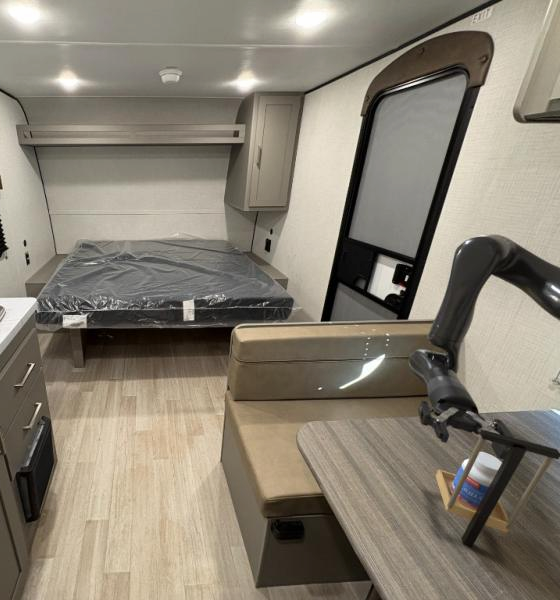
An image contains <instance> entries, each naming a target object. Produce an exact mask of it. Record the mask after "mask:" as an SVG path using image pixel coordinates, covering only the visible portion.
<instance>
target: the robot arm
mask: <svg viewBox="0 0 560 600" xmlns="http://www.w3.org/2000/svg"><path fill="white" fill-rule="evenodd" d="M492 276H493V277H495V278H498V279H500V280H502V281H504V282H506V283H508V284H510V285H512V286H513V287H515V288H518V289H519V290H521V291H522V292H523V293H525V294H526V295H527V296H528V297H529V298H530V299H531V300H532V301H533V302H535V304H536V305H538V306H539V307H540V308H541V309H542V310H543V311H545V313H547V314H548V315H550V316H551V317H552V318H554V319H556V320H557V321H559V322H560V266H558V265H554V264H553V263H551V262H549V261H547V260H545V259H543V258H541V257H540V256H538V255H537V254H535V253H533V252H531V251H530V250H528V249H527V248H524V247H523V246H521V245H520V244H518V243H517V242H515V241H513V240H512V239H511V238H508V237H506V236H504V235H500V234H491V233H490V234H489V233H488V234H482V235H476V236H472V237H469V238H467V239H465V240H464V241H462V242H461V243H459V245H458V246H457V247H456V249H455V251H454V254H453V259H452V263H451V269H450V274H449V278H448V282H447V286H446V290H445V293H444V296H443V299H442V301H441V304H440V307H439V309H438V311H437V313H436V316H435V318H434V320H433V322H432V325H431V327H430V329H429V332H428V334H427V336H426V337H427V341H428V342H429V343H430V345H432V346H434V347H437V348H439V349H441V350H443V351H444V352H439V351H438V352H437V351H434V350H429V349H425V348H418V349H415V350H413V351H412V352H411V353H410V354H409V355H408V356H409V357H408V366H409V368H410V370H411V372H412V373H413V374H414V375H415V376H416V377H417V378H418V379H419V380H420V381H421V382H422V383H423V384H424V385H425V388H426V392H427V393H426V394H427V397H428V399H429V401H430V404H431V405H429V403H428V401H426V400H421V401H420V403H419V405H418V409H417V411H418V415H419V420H420V424H421V425H422V426H426V427H428V426H429V427H431V429H433V431H434V433H435V436H436V438H438V439H439V440H440V442H442V443H445V444H446V443H448V441H449V438H450V434H449V431H448V428H447V427H451V428H452V429H456V430H461V431H464V432H466V433H470V434H472V435H473V436H475V437H476V438H478V439H479V438H480V436H481V435H480V433H481V431H482V430H486V431H490V432H494V433H497V434H501V435H505V436H509V437H512V438H515V436H514V435H513V433H512V432H511V431H510V430H509V428H508V427H507V426H506V424H505V423H504V422H503V420H502V419H499V418H494V419H493V420H489V419H486V418H485V417H484V416H482V415H481V414H480V412H479V409H478V405H477V404H476V402H475V401H474V399H473V397H472V396H471V394H470V392H469V391H468V389H467V387H466V386H465V385H464V384H463V383H462V381H461V380H460V378H459V376H458V374H459V371H460V370H459V369H460V354H461V348H462V344H463V342H464V340H465V338H466V336H467V334H468V332H469V330H470V328H471V326H472V324H473V323H472V322H473V320H474V315H475V309H476V305H477V301H478V299H479V296H480V294H481V291H482V289H483V288H484V286H485V285H486V283H487V282H488V280H489V279H490V277H492ZM432 413H433V415H434V416H436V417H435V418H434V417H432ZM480 429H481V430H480ZM479 430H480V431H479ZM485 442H487V443H488V444H490V446H491V448H492V450H493V452H494V454H495V456H496V458H497V459H499V460H500V459H501V460H504V458H505V456H506V455H507V453H508V451H509V449H510V446H507V445H503V444H499V443H496V442H492V441H488V440H485Z"/></svg>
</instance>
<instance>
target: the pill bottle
mask: <svg viewBox="0 0 560 600" xmlns="http://www.w3.org/2000/svg"><path fill="white" fill-rule="evenodd" d="M469 459H470V458H466V459H465V460H463V461H462V464H461V465H460V467H459V469H458V471H457V473H456V474H455V475H456V477H455V479H454V481H453V482H452V484H451V487H450V490H451V493H452V494H453V492H454V490H455V488H456V486H457V483H458V481H459V479H460V477H461V475H462V473H463V471H464V469H465V467H466V465H467V463H468V461H469ZM502 462H503V461H501V460H500V458H498V457H497V456H494V455H492V454H490V453H487V452H484V451H480V452H479V454H478V456H477V458H476V460H475V462H474V464H473V466H472V469H471V471H470V473H469V475H468V477H467V479H466V481H465V483H464V485H463V487H462V489H461V491H460V493H459V495H458V497H457V500H458V501H459V502H461V503H462V504H463V505H465V506H467V507H469V508H471V509H473V510H477V508H478V506H479V505H480V503H481V501H482V499H483V497H484V495H485V493H486V492H487V490H488V488H489V486H490V484H491V482H492V481H493V479H494V477H495V475H496V473H497V471H498V469H499V468H500V466H501V464H502Z"/></svg>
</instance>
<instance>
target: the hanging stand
mask: <svg viewBox="0 0 560 600" xmlns="http://www.w3.org/2000/svg"><path fill="white" fill-rule="evenodd" d="M481 430H482V429H481ZM481 430H480V432H481V433H480V435H481V436H480V438H478V440H477V442H476V444H475V446H474V449H473V451H472V452H471V454H470V457H469V458H468V459H469V461H468V463H467V465H466V467H465V469H464V471H463V473H462V475H461V477H460V479H459V481H458V483H457V486H456V488H455V490H454V492H453V494H452V493H451V490H450V487H451V484H452V482H453V481H454V479H455V477H456V475H457V474H456V473H452V472H449V471H445V470H443V469H439V468H438V470H437V472H436V474H435V479H436V482H437V485H438V488H439V492H440V495H441V498H442V501H443V504H444V508H445V511H446V512H448V513H451V514H453V515H456V516H460V517H462V518H465V519H467V520H470V521H469V523H468V524H467V527H466V529H465V530H464V533H463V534H462V536H461V541H462V545H464V546H467V547H469V548H473V546H474V544H475V543H476V541H477V539H478V537H479V536H480V534H481V532H482V530H483V528H484V527H485V526H487V527H488V528H489V527H490V528H491V529H496V530H498V531H501V532H502V533H506V534H507V533H509V532H508V531H510V530H511V529H512V528H513V526H514V524H515V522H516V521H517V519H518V517H519V516H520V514H521V512H522V511H523V509H524V508H525V506H526V504H527V503H528V501H529V499H530V498H531V496H532V495H533V493H534V492H535V490H536V488H537V487H538V485H539V484H540V482H541V480H542V479H543V477H544V475H545V474H546V472H547V470H549V467H550V466H551V464H552V463H553V460H554V459H555V460H559V459H560V451H559V450H558V449H557V448H554V447H551V446H546V445H543V444H539V443H535V442H531V441H527V440H524V439H519V438H516V437H514V438H512V437H509V436H505V435H501V434H497V433H494V432H490V431H486V430H482V431H481ZM486 440H488V441H492V442H496V443H499V444H503V445H507V446H510V448H508V449H509V451H508V453H507V455H506V456H505V458H504V459H502V461H501V462H502V464H501V466H500V468H499V469H498V471H497V473H496V475H495V477H494V479H493V481H492V482H491V484H490V486H489V488H488V490H487V492H486V493H485V495H484V497H483V499H482V501H481V503H480V505H479V506H478V508H477V510H473V509H471V508H469V507H467V506H465V505H463V504H462V503H461V502H459V501H458V500H457V497H458V495H459V493H460V491H461V489H462V487H463V485H464V483H465V481H466V479H467V477H468V475H469V473H470V471H471V469H472V466H473V464H474V462H475V460H476V458H477V456H478V454H479V452H481V450H482V448H483V446H484V444H485V442H486ZM527 452H529V453H532V454H536V455H541V456H544V457H545V458H544V459H543V461H542V463H541V465H540V466H539V468H538V469H537V471H536V472H535V474H534V475H533V478H532V479H531V481H530V483H529V485H528V486H527V488H526V489H525V491H524V493H523V494H522V496H521V498H519V499H520V500H519V501H518V502H517V504H516V505H515V507H514V509H513V510H512V512H511V514H510V516H509V517H508V515H507V513H506V511H505V509H504V506H503V505H502V502H501V501H500V499H501V497H502V495H503V493H504V491H505V489H506V488H507V486H508V484H509V483H510V481H511V480H512V477H513V475H514V474H515V472H516V470H517V468H518V466H519V465H520V463H521V461H522V460H523V458H524V456H525V454H526V453H527Z"/></svg>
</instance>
